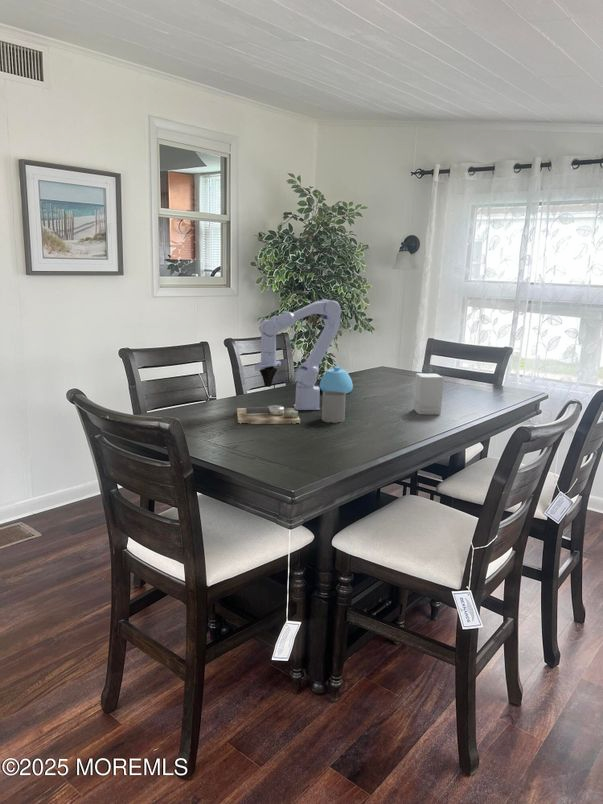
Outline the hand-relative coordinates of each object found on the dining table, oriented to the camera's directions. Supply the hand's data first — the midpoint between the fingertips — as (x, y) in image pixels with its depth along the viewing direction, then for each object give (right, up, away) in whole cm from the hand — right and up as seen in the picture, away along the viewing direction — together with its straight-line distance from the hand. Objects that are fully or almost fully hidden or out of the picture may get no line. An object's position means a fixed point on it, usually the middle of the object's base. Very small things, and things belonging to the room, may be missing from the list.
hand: (267, 386), depth 232 cm
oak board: (0, -12, -10) cm, 15 cm away
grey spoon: (0, -10, -12) cm, 16 cm away
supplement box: (+63, -10, +6) cm, 64 cm away
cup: (+25, -13, -10) cm, 30 cm away
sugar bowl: (+29, -2, +41) cm, 50 cm away
